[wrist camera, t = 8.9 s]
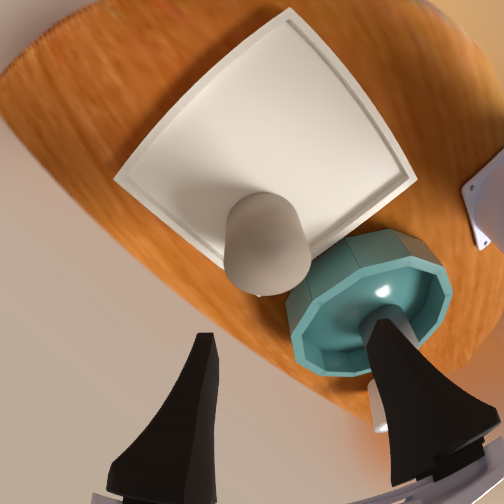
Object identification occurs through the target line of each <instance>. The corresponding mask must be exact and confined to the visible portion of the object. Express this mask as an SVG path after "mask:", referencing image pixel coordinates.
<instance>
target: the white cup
mask: <svg viewBox="0 0 504 504" xmlns="http://www.w3.org/2000/svg"><path fill="white" fill-rule="evenodd" d="M367 388H368V394H369V399H370V405H371V411H372V417H373V424H374V431H375V432H377V433H379V432H386V431H388V427H387V421H386V416H385V411H384V407H383V404H382V401H381V398H380V395H379V392H378V389H377V386H376V383H375V380H374V379H372V380H371V381H370V382H369V384H368V387H367Z"/></svg>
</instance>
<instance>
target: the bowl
mask: <svg viewBox="0 0 504 504" xmlns="http://www.w3.org/2000/svg"><path fill="white" fill-rule="evenodd" d="M452 294H453V290H452V287H451V285H450V282H449V279H448V276H447V273H446V270H445V268H444V266H443V265H442V264H441V262H440V261H439V260H438V259H437V257H436V256H435V255H434V254H433V252H432V251H431V250H430V249H429V248H428V246H427V245H426V244H425V243H424V242H423V241H422V240H419V239H417V238H414V237H412V236H409V235H407V234H404V233H401V232H399V231H396V230H394V229H385V230H380V231H375V232H371V233H366V234H361V235H356V236H352V237H347V238H345V239H342V240H341V241H340V242H338V243H337V244H335V245H334V246H333V247H331V248H330V249H329V250H327V251H326V252H325V253H323V254H322V255H320V256H319V257H318V258H316V259H315V260H313V261H312V262H311V265H310V269H309V271H308V273H307V275H306V276H305V278H304V279H303V280H302V281H301V282H300V283H299V284H298V285H297V286H295V287H294V288H293V289H292V291H291V293H290V295H289V296H288V298H287V300H286V302H285V305H286V311H287V317H288V323H289V329H290V335H291V340H292V345H293V350H294V355H295V359H296V362H297V363H298V364H300V365H302V366H304V367H305V368H307V369H309V370H311V371H312V372H314V373H316V374H318V375H319V376H338V377H354V376H358V375H362V374H365V373H369V372H372V371H371V368H370V364H369V360H368V356H367V353H366V350H365V347H364V344H363V341H362V339H361V336H360V333H359V325H360V322H361V321H362V319H363V318H364V317H365V316H366V315H367V314H368V313H370V312H371V311H373V310H374V309H376V308H378V307H381V306H384V305H389V304H394V305H398V306H400V307H401V308H402V310H403V311H404V313H405V315H406V317H407V319H408V321H409V323H410V325H411V327H412V329H413V331H414V334H415V336H416V338H417V340H418V342H419V347H420V346H421V345H422V344H423V343H424V342H425V341H426V340H427V339H428V338H429V337H430V336H431V335H432V333H433V332H434V331H435V330H436V329H437V328H438V327H439V325H440V324H441V323H442V322H443V320H444V317H445V315H446V312H447V309H448V306H449V303H450V300H451V297H452Z"/></svg>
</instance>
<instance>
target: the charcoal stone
mask: <svg viewBox="0 0 504 504" xmlns="http://www.w3.org/2000/svg"><path fill="white" fill-rule="evenodd" d="M384 318H389V319H390V320H391V321H392V322H393V323H394V324H395V325H396V326H397V328H398V329H399V330H400V331H401V332H402V333H403V334H404V335H405V337H406V338H407V339H408V340H409V341H410V342H411V343H412V344H413V345H414V346H415V348H416V349H417V350H418V349H419V342H418V340H417V338H416V336H415V334H414V331H413V329H412V327H411V325H410V323H409V321H408V319H407V317H406V315H405V313H404V311H403V310H402V308H401V307H400V306H398V305H394V304H389V305H384V306H381V307H378V308H376V309H374V310H373V311H371V312H370V313H368V314H367V315H366V316H365V317H364V318H363V319H362V321H361V322H360V325H359V333H360V336H361V339H362V341H363V344H364V347H365V350H366V345H367V343H368V341H369V338H370V336H371V334H372V331H373V329H374V326H375V324H376V321H377V320H378V319H384ZM366 353H367V350H366ZM367 356H368V355H367Z"/></svg>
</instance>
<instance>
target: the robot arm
mask: <svg viewBox="0 0 504 504" xmlns="http://www.w3.org/2000/svg"><path fill="white" fill-rule="evenodd" d="M470 187H471V188H470ZM462 195H463V198H464V202H465V205H466V208H467V211H468V215H469V218H470V222H471V225H472V229H473V233H474V237H475V241H476V246H477V248H478V249H479V250H482V249H484V248H485V247H486V246H487V245H488V244H489V243H490V242H491V241H492V242H493V243H494V244H495V245H496V246H497V248H498V249H499V250H500V251H501V252H502V253H503V254H504V148H503V149H502V150H501V151H500V152H499V153H498V154H497V155H496V156H495V157H494V158H493V159H492V160H491V161H490V162H489V163H488V164H487V165H486V166H485V167H484V168H482V169H481V170H480V171H479V172H478V173H477V174H476V175H475V176H474V177H473V178H472V179H470V180H469V181H468V182H467V183H466V184H465V185H464V186H463V187H462ZM366 350H367V355H368V360H369V364H370V368H371V371H372V374H373V377H374V380H375V383H376V386H377V389H378V392H379V395H380V398H381V401H382V404H383V407H384V411H385V416H386V421H387V427H388V434H389V442H390V454H391V484H392V487H394V486H397V485H400V484H403V483H406V482H408V481H411V480H413V479H416V480H417V482H415V483H412V484H410V485H407V486H404V487H402V488H399V489H396V490H393V491H390V492H387V493H384V494H381V495H378V496H374V497H371V498H368V499H364V500H360V501H357V502H353V503H348V504H391V503H393V502H396V501H399V500H402V499H404V498H406V500H405V502H404V503H401V504H473V503H474V502H476V501H477V500H478V499H479V498H481V497H482V496H483V495H484V494H486V493H487V492H488V491H489V490H490V489H492V488H493V487H494V486H496V485H497V484H498V483H499V482H500V481H502V480H503V479H504V441H503V438H502V436H500V437H499V438H497V439H496V440H494V441H492V442H491V443H490V444H488V445H486V446H485V447H483V446H482V443H484V442H485V440H484V437H483V436H485V435H486V434H488V433H489V432H490V431H492V430H493V429H494V428H496V427H497V426H498V425H499V424H500V423H501V420H500V418H499V415H498V413H497V410H496V408H494V407H492V406H490V405H488V404H486V403H484V402H482V401H480V400H478V399H476V398H475V397H473V396H472V395H470V394H468V393H467V392H465V391H464V390H462V389H461V388H460V387H458V386H457V385H455V384H454V383H453V382H451V381H450V380H449V379H448V378H446V377H445V376H444V375H443V374H442V373H441V372H440V371H438V370H437V369H436V368H435V367H434V366H433V365H432V364H431V363H430V362H429V361H428V360H427V359H426V358H425V357H424V356H423V355H422V354H421V353H420V352H419V351H418V350H417V349H416V348H415V346H414V345H413V344H412V343H411V342H410V341H409V340H408V339H407V338H406V337H405V335H404V334H403V333H402V332H401V331H400V330H399V329H398V328H397V326H396V325H395V324H394V323H393V322H392V321H391V320H390V319H389V318H384V319H378V320H377V321H376V324H375V326H374V329H373V331H372V334H371V336H370V338H369V341H368V343H367V345H366ZM218 386H219V357H218V353H217V348H216V343H215V339H214V334H213V333H198V334H197V335H196V338H195V342H194V344H193V347H192V349H191V352H190V354H189V356H188V359H187V361H186V363H185V365H184V367H183V369H182V372H181V373H180V376H179V378H178V380H177V381H176V383H175V385H174V387H173V388H172V390H171V392H170V394H169V395H168V397H167V399H166V400H165V402H164V404H163V405H162V406H161V408H160V409H159V411H158V412H157V414H156V415H155V416H154V418H153V419H152V421H151V422H150V423H149V425H148V426H147V427H146V428H145V430H144V431H143V432H142V433H141V434H140V435H139V436H138V437H137V439H136V440H135V441H134V442H133V443H132V444H131V445H130V446H129V447H128V448H127V449H126V450H125V451H124V452H123V453H122V454H121V455H120V456H119V457H118V458H117V459H116V460H115V461H114V462H113V463H112V464H111V467H110V471H109V473H108V479H107V486H106V490H107V491H108V492H110V493H113V494H116V495H120V496H123V501H119V500H115V499H112V498H108V497H105V496H102V495H98V494H95V493H93V494H92V501H91V504H215V503H217V497H216V485H215V464H214V422H215V412H216V404H217V395H218Z"/></svg>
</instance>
